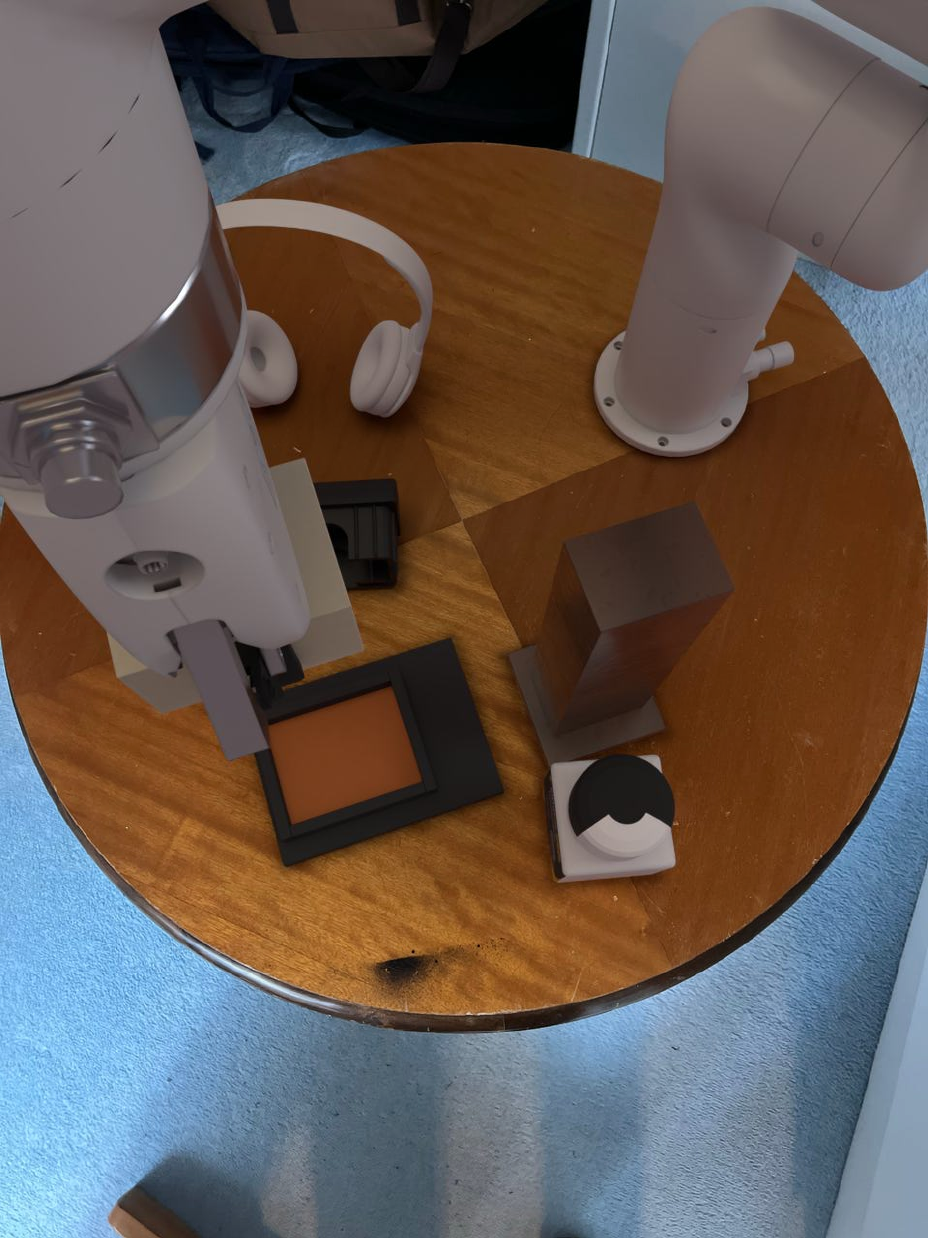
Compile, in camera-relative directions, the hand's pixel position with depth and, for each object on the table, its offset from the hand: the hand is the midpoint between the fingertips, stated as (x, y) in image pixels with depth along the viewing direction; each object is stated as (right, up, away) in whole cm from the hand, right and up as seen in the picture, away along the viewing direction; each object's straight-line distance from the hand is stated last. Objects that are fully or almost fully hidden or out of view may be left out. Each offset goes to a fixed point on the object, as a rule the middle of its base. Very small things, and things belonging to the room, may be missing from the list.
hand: (239, 603), depth 35 cm
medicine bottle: (+18, -15, +30) cm, 38 cm away
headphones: (-3, +18, +42) cm, 46 cm away
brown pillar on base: (+17, -6, +33) cm, 38 cm away
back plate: (+2, -10, +32) cm, 33 cm away
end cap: (-1, +5, +37) cm, 37 cm away
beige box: (0, 0, +1) cm, 1 cm away
